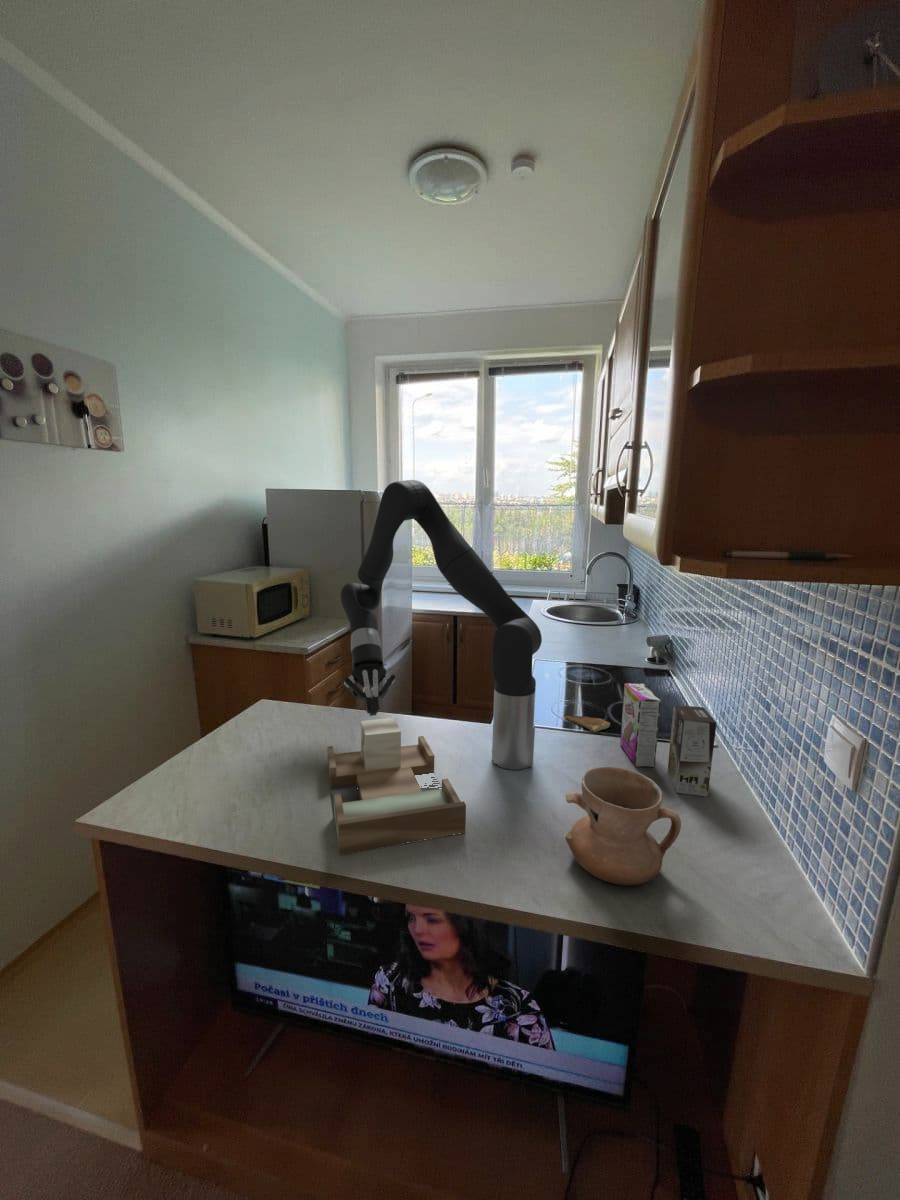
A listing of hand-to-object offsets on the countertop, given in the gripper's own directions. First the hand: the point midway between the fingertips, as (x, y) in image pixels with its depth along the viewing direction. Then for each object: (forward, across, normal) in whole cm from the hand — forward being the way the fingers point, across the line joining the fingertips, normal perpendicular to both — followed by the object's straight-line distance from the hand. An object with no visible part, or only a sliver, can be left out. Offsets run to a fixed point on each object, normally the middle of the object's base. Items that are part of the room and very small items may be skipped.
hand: (373, 714), depth 118 cm
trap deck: (+20, 0, -7) cm, 21 cm away
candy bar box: (+19, +60, -6) cm, 63 cm away
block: (+12, 0, -2) cm, 12 cm away
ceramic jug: (+41, +33, -28) cm, 60 cm away
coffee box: (+29, +63, -16) cm, 71 cm away
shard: (+6, +58, +8) cm, 59 cm away
